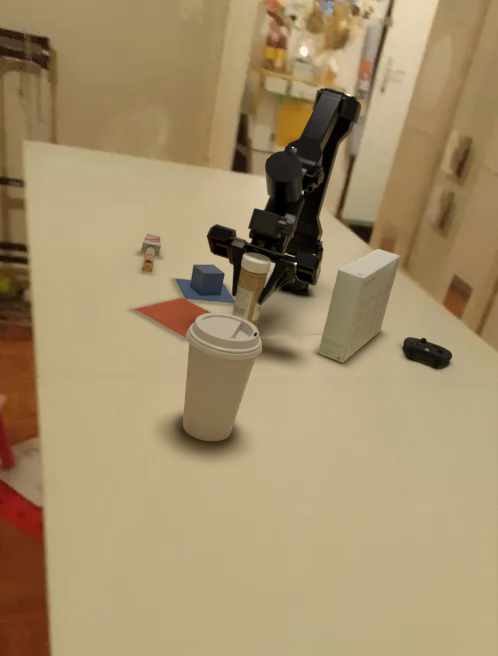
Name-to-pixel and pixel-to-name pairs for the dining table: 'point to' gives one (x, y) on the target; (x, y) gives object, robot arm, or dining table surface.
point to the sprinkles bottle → (251, 286)
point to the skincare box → (358, 304)
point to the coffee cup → (217, 373)
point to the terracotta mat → (174, 314)
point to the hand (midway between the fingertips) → (246, 299)
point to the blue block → (207, 279)
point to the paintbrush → (150, 250)
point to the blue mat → (193, 295)
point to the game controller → (427, 351)
